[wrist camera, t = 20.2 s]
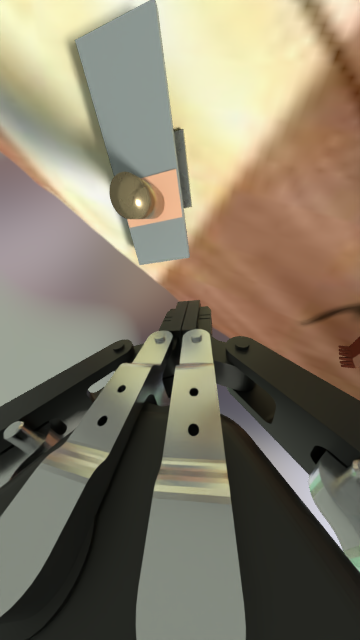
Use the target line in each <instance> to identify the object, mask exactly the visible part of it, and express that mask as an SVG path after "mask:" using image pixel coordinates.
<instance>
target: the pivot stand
mask: <svg viewBox="0 0 360 640" xmlns="http://www.w3.org/2000/svg"><path fill="white" fill-rule="evenodd" d="M174 139H175V146H176V154H177V162H178V169H179V177H180V185H181V193H182V200H183V208H189V207H192V202H191V193H190V184H189V174H188V165H187V156H186V146H185V137H184V130H183V129H181V130H178V131H175V132H174Z"/></svg>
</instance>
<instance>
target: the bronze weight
mask: <svg viewBox="0 0 360 640" xmlns="http://www.w3.org/2000/svg"><path fill="white" fill-rule="evenodd" d="M110 199H111V202H112V205H113V207H114V208H115V210H116V211H117V212H118V214H120V215H121V216H122V217H124V218H126V219H156V218H158V217H159V216H160V215H161V214H162V212H163V210H164V205H165V202H164V197H163V194H162V193H161V191H160V190H159V189H158V188H157V187H155V186H153V185H151V184H150V183H148V182H146V181H144V180H143V179H141V178H139V177H137V176H136V175H134V174H132V173H130V172H120V173H118V174H117V175H115V177H114V178H113V179H112V182H111V185H110Z"/></svg>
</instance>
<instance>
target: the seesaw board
mask: <svg viewBox="0 0 360 640" xmlns="http://www.w3.org/2000/svg"><path fill="white" fill-rule="evenodd" d="M75 42H76V45H77V49H78V52H79V56H80V59H81V63H82V66H83V69H84V73H85V76H86V80H87V83H88V87H89V90H90V94H91V97H92V101H93V104H94V108H95V111H96V115H97V118H98V122H99V125H100V129H101V132H102V136H103V139H104V142H105V146H106V149H107V153H108V156H109V160H110V163H111V167H112V170H113V174H114V177H115V175H117V174H118V173H120V172H130V173H132V174H134V175H136V176H137V177H139V178H141V179H143V180H144V181H146V182H148V183H150V184H151V185H153V186H155V187H157V188H158V189H159V190H160V191H161V193H162V194H163V197H164V202H165V205H164V210H163V212H162V214H161V215H160V216H159V217H158V218H156V219H127V222H128V226H129V229H130V233H131V236H132V240H133V243H134V247H135V250H136V254H137V257H138V261H139V264H140V265H143V264H149V263H156V262H163V261H170V260H177V259H183V258H189V257H190V254H189V246H188V239H187V231H186V223H185V216H184V208H183V200H182V193H181V185H180V177H179V169H178V162H177V154H176V146H175V139H174V131H173V123H172V115H171V108H170V100H169V92H168V85H167V77H166V69H165V62H164V54H163V46H162V38H161V31H160V23H159V15H158V9H157V5H156V1H155V0H150V1H148V2H146V3H144V4H142V5H140V6H138V7H136V8H135V9H133V10H131V11H129V12H127V13H125V14H123V15H121V16H120V17H118V18H116V19H114V20H112V21H110V22H108V23H106V24H105V25H103V26H101V27H99V28H97V29H95V30H93V31H91V32H89V33H88V34H86V35H84V36H82V37H80V38H78V39H76V40H75Z"/></svg>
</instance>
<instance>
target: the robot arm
mask: <svg viewBox="0 0 360 640" xmlns="http://www.w3.org/2000/svg"><path fill="white" fill-rule="evenodd" d="M112 371H115V373H114V374H113V376H112V377H111V379H110V380H109V381H108V383H107V384H106V386H105V387H103V388H102V389H100V390H99V391H97V392H95V393H90V392H89V391H88V388H89V387H90V386H91V385H93V384H94V383H96V382H97V381H99V380H100V379H102V378H103V377H105V376H106V375H108V374H109V373H111V372H112ZM216 383H217V384H220V385H223V386H226V387H227V389H228V391H229V392H230V394H231V395H232V396H233V397H234V398H235V399H236V400H237V401H238V402H239V403H240V404H241V405H242V406H243V407H244V408H245V409H246V410H247V411H248V412H249V413H250V414H251V415H252V416H253V417H254V418H255V419H256V420H257V421H258V422H259V424H261V426H262V427H263V428H264V429H265V430H266V431H267V432H268V433H269V434H270V435H271V436H272V437H273V438H274V439H275V440H276V441H277V442H278V443H279V444H280V445H281V446H282V447H283V448H284V449H285V450H286V451H287V452H288V453H289V454H290V455H291V456H292V458H293V459H294V460H295V461H296V462H297V463H298V464H299V465H300V466H301V467H302V468H303V469H304V470H305V471H306V472H307V473H308V474H309V488H310V492H311V495H312V498H313V500H314V502H315V504H316V505H317V507H318V509H319V510H320V512H321V513H322V515H323V516H324V517H325V519H326V520H327V521H328V523H329V524H330V525H331V527H332V529H333V530H334V532H335V534H336V535H337V538H338V539H339V542H340V544H341V546H342V549H343V551H342V550H341V549H340V547H339V546H338V545H337V543H336V542H335V541H334V540H333V539H332V537H331V536H330V535H329V534H328V532H327V531H326V530H325V529H324V527H323V526H322V525H321V524H320V522H319V521H318V520H317V519H316V518H315V516H314V515H313V514H312V513H311V512H310V510H309V509H308V508H307V507H306V505H305V504H304V503H303V501H301V499H300V498H299V497H298V495H297V494H296V493H295V492H294V490H293V489H292V488H291V487H290V485H289V484H288V483H287V482H286V480H285V479H284V478H283V477H282V475H281V474H280V473H279V472H278V471H277V469H276V468H275V467H274V466H273V464H272V463H271V462H270V461H269V459H268V458H267V457H266V456H265V455H264V453H263V452H262V451H261V450H260V448H259V447H258V446H257V445H256V444H255V442H254V441H253V440H252V438H251V437H250V436H249V435H248V434H247V433H246V431H245V430H244V429H242V428H241V427H240V426H239V425H238V424H237V423H235V422H234V421H233V420H231V419H230V418H228V417H227V416H224V415H222V414H220V410H219V402H218V394H217V386H216ZM0 640H360V401H359V400H357V399H356V398H354V397H352V396H350V395H349V394H347V393H345V392H343V391H342V390H340V389H338V388H336V387H335V386H333V385H331V384H329V383H328V382H326V381H324V380H323V379H321V378H319V377H317V376H316V375H314V374H312V373H310V372H309V371H307V370H305V369H303V368H302V367H300V366H298V365H296V364H295V363H293V362H291V361H290V360H288V359H286V358H284V357H283V356H281V355H279V354H277V353H276V352H274V351H272V350H270V349H269V348H267V347H265V346H263V345H262V344H260V343H258V342H257V341H255V340H253V339H251V338H248V337H243V336H238V337H233V338H231V339H229V340H228V341H227V342H226V343H225V342H221V341H218V340H216V339H215V338H213V337H212V319H211V310H210V308H209V307H208V306H206V307H201V304H200V300H194V301H182V302H178V304H177V306H176V309H171V310H170V311H169V312H168V313H167V314H166V316H165V318H164V321H163V323H162V325H161V327H160V329H159V331H158V332H155V333H153V334H151V335H150V336H149V337H148V339H147V340H146V342H145V343H144V344H140V345H136V346H133V344H132V342H131V341H130V340H120V341H117V342H115V343H113V344H111V345H109V346H108V347H106V348H104V349H102V350H101V351H99V352H97V353H95V354H93V355H92V356H90V357H88V358H86V359H85V360H83V361H81V362H79V363H78V364H75V365H74V366H72V367H70V368H69V369H67V370H65V371H63V372H61V373H59V374H58V375H56V376H54V377H53V378H51V379H49V380H47V381H45V382H43V383H42V384H40V385H38V386H36V387H35V388H33V389H31V390H29V391H27V392H26V393H24V394H22V395H20V396H18V397H17V398H15V399H13V400H11V401H10V402H8V403H6V404H4V405H3V406H1V407H0Z"/></svg>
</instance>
